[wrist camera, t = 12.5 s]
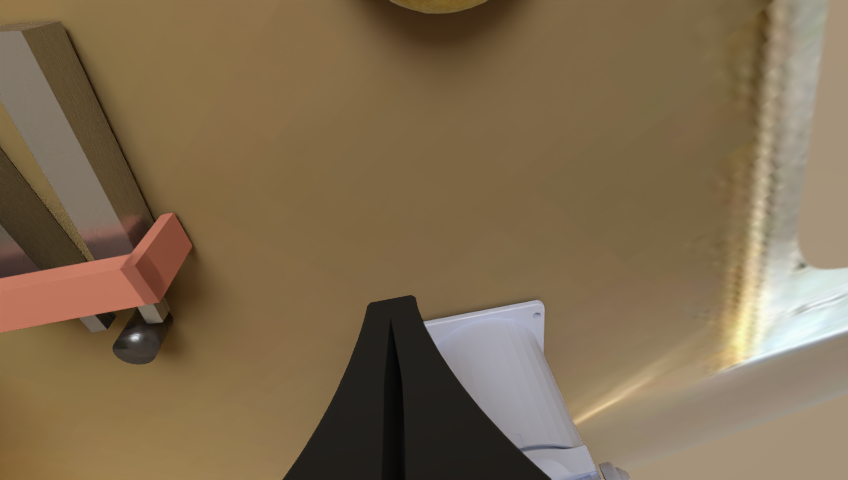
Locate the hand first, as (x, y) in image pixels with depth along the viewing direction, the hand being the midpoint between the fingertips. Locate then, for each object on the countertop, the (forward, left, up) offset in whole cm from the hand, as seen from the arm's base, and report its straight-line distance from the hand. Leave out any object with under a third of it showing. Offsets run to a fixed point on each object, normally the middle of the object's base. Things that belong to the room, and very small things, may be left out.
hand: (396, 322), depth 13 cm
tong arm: (+2, +12, -10) cm, 16 cm away
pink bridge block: (-1, +15, -10) cm, 18 cm away
